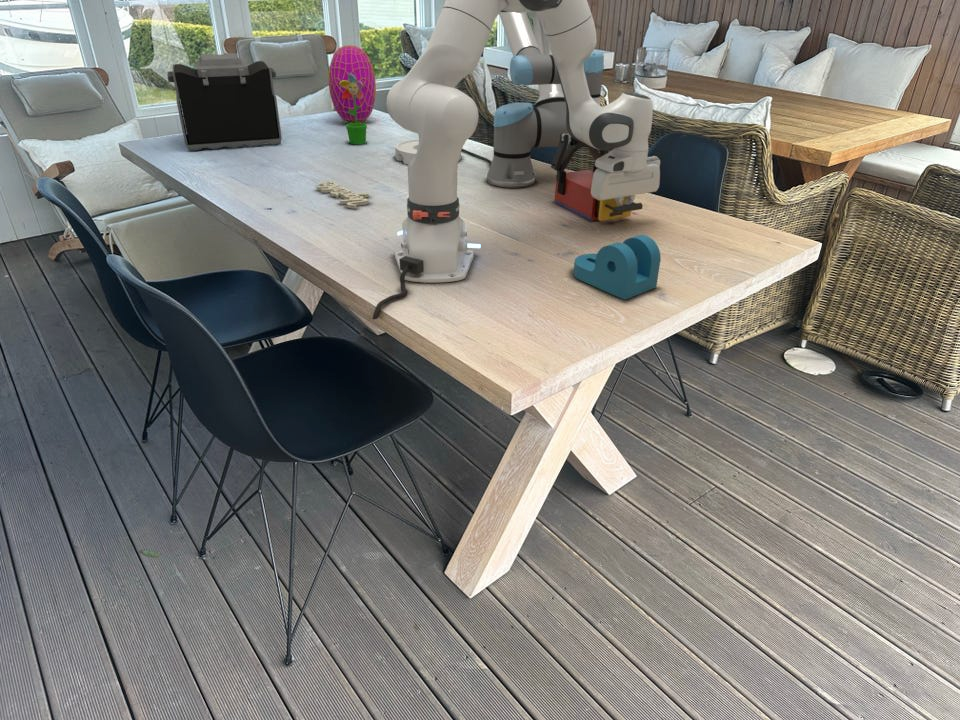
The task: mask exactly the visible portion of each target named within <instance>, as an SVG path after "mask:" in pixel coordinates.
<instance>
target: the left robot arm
mask: <svg viewBox="0 0 960 720" xmlns="http://www.w3.org/2000/svg"><path fill="white" fill-rule="evenodd" d="M532 11H535V12H536V13H537V14H538V16H539V17H540V19H541V22H542V26H543V29H544V32H545V35H546V38H547V41H548V44H549V47H550V49H551V52H552V55H553V57H554V61H555V64H556V68H557V73H558V76H559V80H560V84H561V87H562V91H563V95H564V98H565V102H566V127H567V131H568V133H569V134H570V136H571V137H572V138H573V139H575V140H577V141H580V142H584V143H585V144H587V145H589V146H592V147H593V148H595V149H598V151H599V150H608V153H607V154H605V155H603V156H601V157H599V158H598V159H596V161H595V160H594V165H595V166H596V167H597V168H598V169H596V170H595V172H594V174H593V179H592V185H591V195H592V197H593V198H595V199H597V200H600V201H601V200H607V199H613V198H614V199H615V202H616V204H617V206H623V205H629V204H632V202H634V201H635V198H636V196H637V195H642V194H649V193H655V192H657V191H658V189H659V188H660V184H661V183H660V182H661V169H660V167H661V160H660V158H659V157H658V156H656V155H652V156H648V154H649V137H650V136H651V135H650V134H651V132H652V125H653V112H654V109H653V108H654V107H653V101H652V99H651V98H650V97H649V96H648V95H645V94H642V93H638V92H634V91H625V92H622V93H621V95H620V96H618V97H617V98H616V99H615V100H613V101H612V102H610V103H608V104H605V105H603V106H602V105H601V104H600V105H598V104H597V103H596V102H595V101H594V100H593V99H592V97H591V95H590V92H589V88H588V84H587V80H586V76H585V72H584V61H585V60H586V59H587V58H588V57H589V56H590V55H591V54H592V52H593V50H595V48H596V47H597V43H598V39H597V29H596V25H595V20H594V18H593V14H592V11H591V7H590V5H589V2H588V0H445V2H444V4H443V6H442V9H441V12H440V14H439V16H438V19H437V20H436V21H437V22H436V24H435V26H434V29H433V31H432V34H431V35H430V37H429V41H428V43H427V45H426V46H425V48H424V50H423V52H422V53H421V55H420V56H419V58H418V59H417V60H416V62H415V63H414V64H413V66H412V67H411V68H410V70H409V71H408V72H407V74H406V75H405V76H404V77H402V79H400V80H399V81H397V82H395V83H394V84H393V85H392V86H391V87H390V89H389V91H388V93H387V95H386V111H387V113H388V115H389V117H390V119H392V121H394V122H395V123H396V124H397V125H399V127H401V128H403V129H404V130H406V131H409V132H412V133H414V134H416V135H417V134H418V139H419V145H418V149H417V153H416V156H415V157H414V158H413V159H412V160H411V161H410V162H409V164H407V184H408V186H407V187H408V198H407V199H406V211H407V213H406V214H407V217H406V218H405V219H404V220H403V221H402V223H401V230H400V231H398V232H397V236H400V235H402V242H401V244H400V247H401V249H400V250H397V251H395V252H394V259H395V262H396V264H397V267H398V269H399V272H400V276H399V284H400V289H401V291H402V292H400V293H396V294H392V295H389V296H388V297H386V298H383V299H382V300H381V301H379V302H378V303H377V304H376V306H375V309H374V312H373V315H372V320H378V318H379V315H380V311H381V309H382V308H383V306H384V305H387V304H388V303H390V302H392V301H395V300H398V299H402V298H404V297H406V295H407V294H408V289H407V288H406V281H408V282H414V283H431V284H433V283H435V284H437V283H451V282H457V281H461V280H464V279H466V277H467V274H468V273H469V269H470V267H471V265H472V262H473V260H474V257H475V251H473V250H471V248H472V249H481V244H480V243H468V242H467V241H466V238H467V236H468V232H467V231H466V221H465V220H464V219H463V218H461V216H460V208H461V207H460V206H461V205H460V198H459V197H458V169H459V161H460V160H459V157H460V153H461V154H462V149H463V147H464V145H465V143H466V142H467V141H468V140H469V139H470V138H471V137H472V136H473V134H474V133H475V131H476V130H477V127H478V125H479V119H480V118H479V117H480V116H479V108H478V105H477V104H476V102H475V101H474V99H473V98H472V97H470V96H469V95H468V94H467V93H464V92H463V91H462V90H459V88H456V87H457V85H458V84H459V83H461V81H462V80H463V79H464V78H465V77H466V76H468V75H470V74H471V73H472V72H473V71H475V69H476V68H477V67H478V65H479V62H480V60H481V57H482V55H483V52H484V50H485V47H486V45H487V42H488V40H489V38H490V35H491V32H492V30H493V28H494V25H495V23H496V19H497V18H498V16H499V13H500V12H515V13H527V14H528V12H532ZM609 150H610V151H609ZM625 196H626V197H627V199H626V201H625V203H624V204H622V201H623V200H624V197H625ZM468 248H469V249H468Z"/></svg>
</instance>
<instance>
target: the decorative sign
mask: <svg viewBox="0 0 960 720" xmlns="http://www.w3.org/2000/svg"><path fill="white" fill-rule="evenodd" d="M316 190H317V191H320V193H322V194H326V193H327V194H328V193H329V195H330V197H335V198H336V199H338V198H343V199H340V200H339V204H340V205H346V208H349V209H353V210H356V209H357V207H358V206H364V205H365V206H366V205H369V203H370V202H369V197H370V196H369V195H370V194H369V193H368V192H354V191H352V190H350V189H348V188H346V187H343V186H342V185H339V183H336V182H333V180H327V181H325V182H323V181H320V182H319V184H318V186H317V185H316Z"/></svg>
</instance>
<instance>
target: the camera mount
mask: <svg viewBox="0 0 960 720" xmlns="http://www.w3.org/2000/svg"><path fill="white" fill-rule="evenodd" d="M661 258H662V257H661V250H660V248H659V245H658V244H657V242H655V240H654V239H653V238H651V237H650V236H648V235H647V234H638V235H635V236H631V237H629V238H626V239H625V240H624V241H623V242H621V241H620V242H619V241H618V242H614V243H613V242H612V243H610V244H607V245H605V246H602V247H600V249H599V250H598V251H597V252H596V253H585V254H580V255H578V256H576V257H575V259H574V263H573V276H574V277H575V279H577V280H579V281H581V282H583V283H585V284H588V285H590V286H592V287H595V288H597V289H599V290H601V291H603V292H606V293H607V294H610V295H611V296H612V295H613V296H615V297H617V298H619V299H621V300H623V301H625V300H627V299H630V298H633V297H635V296H638V295H640V294H643V293H645V292H647V291H650V290H653V289H655V288H657V286H658V285H657V284H658V279H659V273H660V266H661V260H662V259H661Z"/></svg>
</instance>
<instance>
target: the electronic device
mask: <svg viewBox="0 0 960 720" xmlns="http://www.w3.org/2000/svg"><path fill="white" fill-rule="evenodd" d="M195 67H196V68H193V67H192V66H187V65H185V64H182V63H176V64H175V63H173V64H172V70H171V71H167V72H166V73H167V74H166V75H167V81H168V83H173V84H174V90H175V94H176V96H175V97H176V98H175V99H176V106H177V111H178V116H179V121H180V126H181V130H182V134H183V136H182V137H183V141H184V145H185V147H186V149H187V150H188V151H192V152H197V151H199V152H200V151H201V150H203V149H210V150H219V149H221V148H225V147H227V148H230V149H237V148H241V147H243V146H249V147H260V146H261V145H269V146H278V145H279V144H281V143H282V138H283V137H282V130H281V122H280V115H279V108H278V99H277V96H276V94H275V88H274V81H273V80H274V78H277V72H276V70H275V69H274V68H273V67H270V66H268V64H267V63H266V62H265V61H264V60H259V61H257V60H256V61H254V62H253V63H251V64H249V65H247V63H246V62H245V61H244V59H241V58H240V57H239V56H238V54H237V53H236V52H228V53H227V52H225V53H223V54H214V53H200V55H199V59H198V60H196V61H195Z"/></svg>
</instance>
